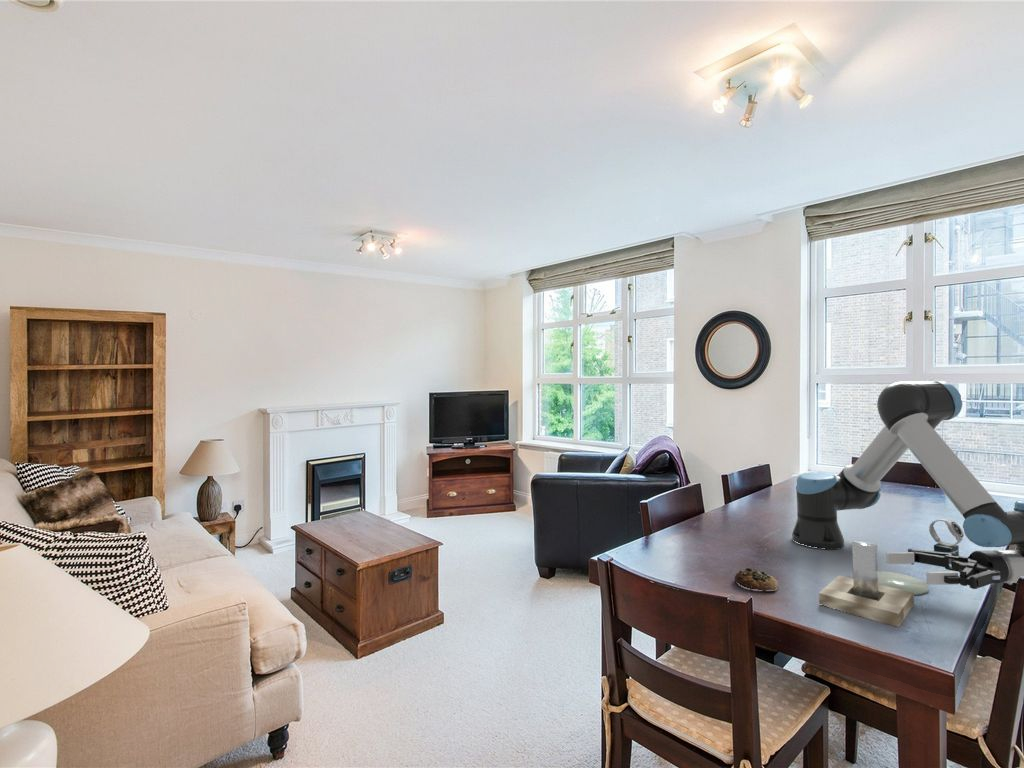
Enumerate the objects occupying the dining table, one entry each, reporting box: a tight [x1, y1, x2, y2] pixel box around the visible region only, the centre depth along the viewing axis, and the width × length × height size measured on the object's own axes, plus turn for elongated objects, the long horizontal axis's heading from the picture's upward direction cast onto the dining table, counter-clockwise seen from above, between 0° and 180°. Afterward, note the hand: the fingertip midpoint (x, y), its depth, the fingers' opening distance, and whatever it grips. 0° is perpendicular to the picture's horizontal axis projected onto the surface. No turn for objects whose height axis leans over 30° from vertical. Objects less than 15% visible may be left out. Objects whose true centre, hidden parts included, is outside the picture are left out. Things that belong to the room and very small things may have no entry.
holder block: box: [818, 575, 915, 628], centre depth 124 cm, size 16×16×3 cm
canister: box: [851, 540, 879, 601], centre depth 124 cm, size 5×5×15 cm
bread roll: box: [734, 567, 779, 590], centre depth 139 cm, size 11×11×5 cm
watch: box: [928, 518, 965, 556], centre depth 157 cm, size 6×8×11 cm
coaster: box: [878, 570, 930, 596], centre depth 136 cm, size 14×14×1 cm
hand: (906, 567), depth 124 cm, fingers open, 13 cm apart
